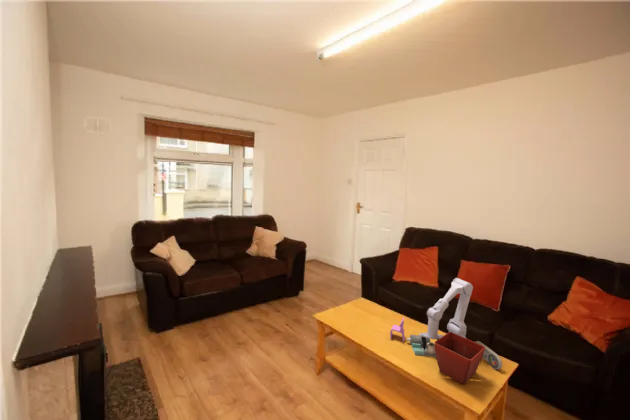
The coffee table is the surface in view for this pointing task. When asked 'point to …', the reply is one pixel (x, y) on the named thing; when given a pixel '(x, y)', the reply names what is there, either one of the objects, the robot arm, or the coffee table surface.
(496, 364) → the game controller
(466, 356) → the plant pot
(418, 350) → the motor assembly
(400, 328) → the toy chair
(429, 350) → the cream canister
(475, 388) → the coffee table surface
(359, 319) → the coffee table surface
